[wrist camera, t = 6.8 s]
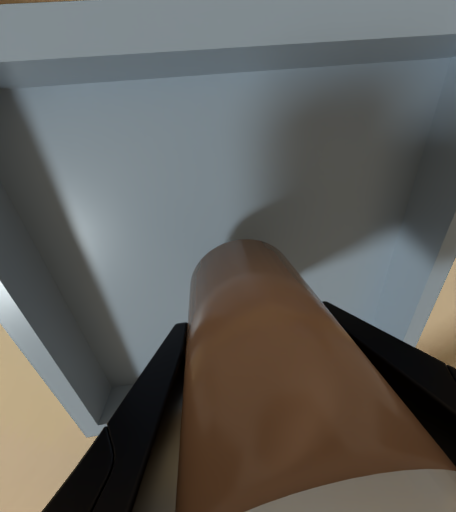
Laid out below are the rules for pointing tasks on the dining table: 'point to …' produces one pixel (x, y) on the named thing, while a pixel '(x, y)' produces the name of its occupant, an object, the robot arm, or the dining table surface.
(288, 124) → the tray
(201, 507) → the shaker
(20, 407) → the dining table surface
